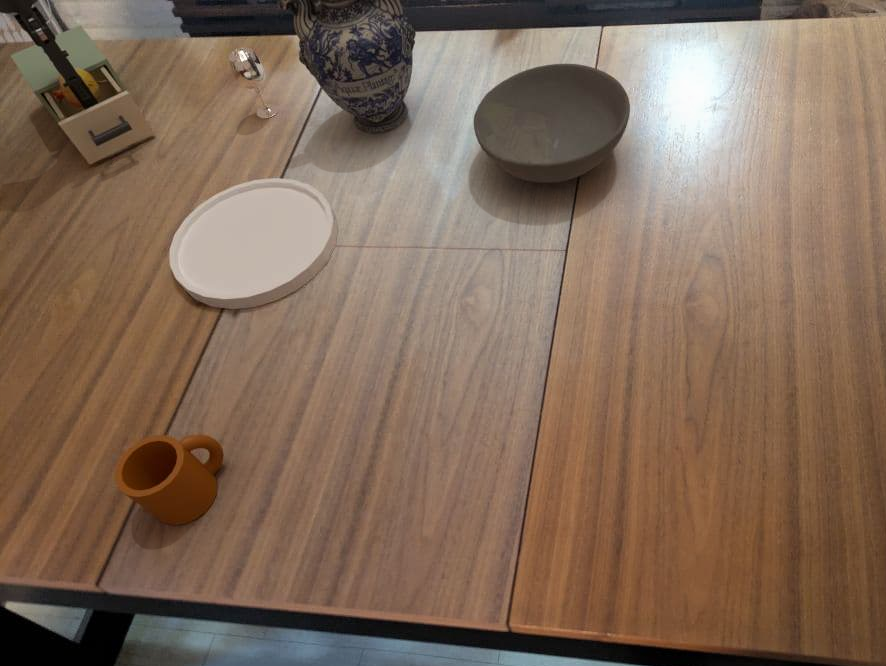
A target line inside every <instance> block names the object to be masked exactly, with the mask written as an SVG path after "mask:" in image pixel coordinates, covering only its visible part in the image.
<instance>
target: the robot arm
mask: <svg viewBox="0 0 886 666" xmlns="http://www.w3.org/2000/svg"><path fill="white" fill-rule="evenodd" d="M38 1H39V0H0V14H5V15H7V14H13V18H15V20H16V21H17V23H18V24H19V26H20V27H21V29H22V30H23V31H24V32H26V33H27V35H28V36H29V37H30V38H31V40H32V41H33V43H34V45H35V44H36V45H37V46H39V47H42V49H43V50H44V52H45V54H47V56H48V57H49V59H50V61H52V63H53V65H54V66H55V68H56V69H57V71H58V72H59V73H60V74H61V75H62V77H63V78H64V80H65V82H66V83H63V86H64V87H67V86H68V87H69V88H70V89H71V91H72V92H73V94H74V95H75V96H76V98H77V99H78V101H79V102H80V103H81V105H82V106H83V108H84V109H85V110H86V109H88V108H90V107H92V106H94V105H97V104H99V103H98V101H97V100H96V98H95V97H94V96H93V94H92V93H91V91H90V90H89V88H88V87H87V85H86V84H85V82H84V81H83V80H82V78H81V76H80V75H78V73H77V72H76V71H75V69H74V67H73V66H72V64H71V63H70V62H69V60H68V59H67V58H66V57H67V56H69V54H68V53H67V52H66V50H64V51H62V50H61V49H60V47H59V46H58V45H57V43H56V42H55V39H56V37H55V36H56V35H55V34H54V32H53V31H52V30H51V28H50V26H49V25H48V24H47V20H46V18H45V17H44V15H43V14H42V13H41V11H40V10H39V9H38V8H37V6H36V5H35V6H34V4H36V3H37V2H38Z"/></svg>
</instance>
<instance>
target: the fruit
mask: <svg viewBox="0 0 886 666" xmlns="http://www.w3.org/2000/svg"><path fill="white" fill-rule="evenodd" d="M74 69H75V71H76V72H77V73H78V75H80V76H81V78H82V80H83V81H84V82H85V84H86V85H87V87H88V88H89V90H90V91H91V93H92V94H93V96H94V97H95V98H96V100H97V101H99V98H100V88H99V86H98V84H100V83H108V81H106V80H104V81H99V82H96V81H95V80H94V78H93V77H92V76H91V75H90V74H89V73H88V72H87V71H85V70H83V69H80V68H74ZM63 83H66V82H65V80H64V78H63V77H62V75H61V74H60V75H59V84H60V87H61V89H60V90H58V91H50V92H52V93H54V96H55V99H58V98H59V103H60V104H61V102H62V101H61V100H62V99H63V98H66V99H67V100H68V101H69V102H70V103H71V104H72V105H73V106H75V107H78V108H83V106H82V105H81V103H80V102H79V101H78V99H77V98H76V96H75V95H74V94H73V92H72V91H71V89H70V88H69V87H68V86H67V87H64V86H63Z"/></svg>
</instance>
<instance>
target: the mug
mask: <svg viewBox="0 0 886 666" xmlns="http://www.w3.org/2000/svg"><path fill="white" fill-rule="evenodd" d="M198 449H203V450H206V451H208V453H209V456H208V459H207V460H206V461H205V463H202V461H201V460H199V458H197V457H196V455H195V454H193V453H192V452H193V451H194V450H198ZM224 455H225V453H224V449H223V447H222V445H221V443H220V442H218V440H217V439H216V438H214V437H212V436H209V435H207V434H192V435H188V436H185V437H183V438H181V439H180V440H178V439H177V438H174V437H173V436H171V435H165V434H157V435H151V436H148V437H146V438H142V439H141V440H138V441H137V442H136V443H135V444H133V445H131V446H130V447H129V448H128V449H127V450H126V452H124V453H123V455H122V456H121V457H120V459H119V461H118V463H117V465H116V468H115V472H114V480H115V481H114V482H115V485H116V486H117V489H119V491H120V492H121V493H123V494H124V495H125V496H126V497H128V498H129V499H130V500H132V501H133V502H135V503H136V504H137V505H139V506H140V507H142V508H143V509H144V510H146V511H147V512H149V513H150V514H151V515H153V516H154V517H155V518H157V519H158V520H160V521H162V522H163V523H165V524H167V525H172V526H179V525H180V526H181V525H184V524H188V523H190V522H193V521H195V520H197V519H198V518H199V517H201V516H203V514H205V513H206V512H207V511H208V509H209V508H210V507H211V506H212V505H213V503H214V501H215V498H216V496H217V492H218V486H219V485H218V481H217V477H216V476H215V474H216V473H217V472H218V471H219V470H220V468H221V467H222V464H223V462H224Z"/></svg>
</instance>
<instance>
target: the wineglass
mask: <svg viewBox="0 0 886 666" xmlns="http://www.w3.org/2000/svg"><path fill="white" fill-rule="evenodd" d="M228 62H229V66H230V69H231V73H232V74H233V77H234V79H235V81H236V82H237V84H239V85H240V87H242V88H244V89H247V90H253V89H254V91H255V94H256V95H257V96H258V98H259V99H260V101H261V103H262V106H260V107H259V108H258V109H257V110H256V116H257V117H258V118H259V119H264V120H266V119H270V118H272V117H274V116H276V115H277V114H278V113H279V110H280V109H279V106H278V105H276V104H274V103H268V104H266V102H265V100H264V98H263V94H262V90H261V88H260V87H262V86H263V84H264V83H265V82H266V77H267V74H266V70H265V67H264V65H263V63H262V61H261V60H260V58H259V57H258V55H257V53H256V52H255V51H254V50H253V49H252V48H250V47H240V48H236V49H234V50H233V51H231V52H230V53H229V55H228Z"/></svg>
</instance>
